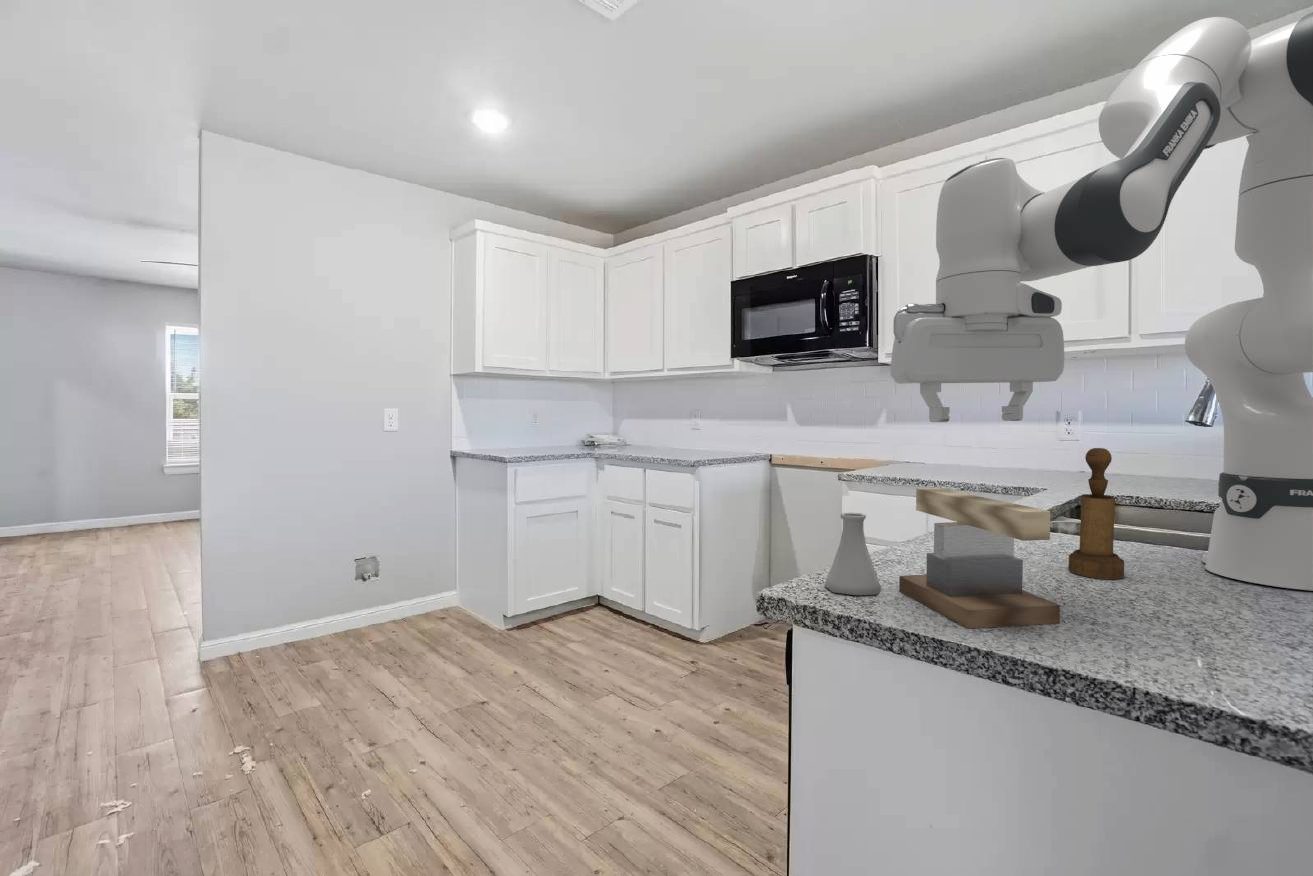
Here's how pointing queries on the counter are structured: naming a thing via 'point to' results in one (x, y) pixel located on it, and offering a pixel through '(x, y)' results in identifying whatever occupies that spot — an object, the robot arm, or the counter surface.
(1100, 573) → the brown tall knobbed post
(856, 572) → the flask
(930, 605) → the walnut base
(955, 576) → the grey stepped block
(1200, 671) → the counter surface
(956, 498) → the maple bar
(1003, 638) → the counter surface
